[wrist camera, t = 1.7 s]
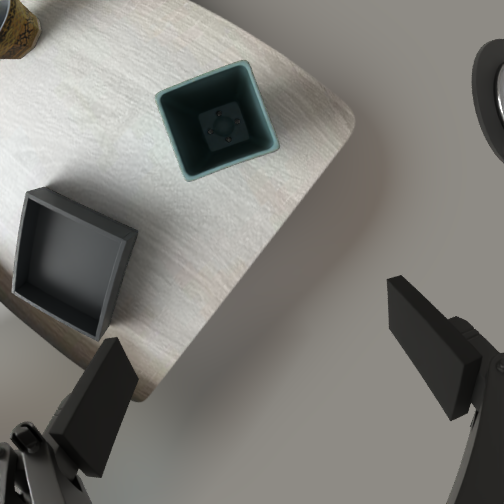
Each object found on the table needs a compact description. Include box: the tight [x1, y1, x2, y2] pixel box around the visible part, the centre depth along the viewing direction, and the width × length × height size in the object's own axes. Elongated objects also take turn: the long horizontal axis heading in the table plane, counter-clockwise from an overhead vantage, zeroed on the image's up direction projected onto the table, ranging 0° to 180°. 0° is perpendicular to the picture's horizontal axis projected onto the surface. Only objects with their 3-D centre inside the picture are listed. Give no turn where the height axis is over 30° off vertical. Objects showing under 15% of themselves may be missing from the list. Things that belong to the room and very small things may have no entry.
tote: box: [12, 187, 138, 342], centre depth 37 cm, size 15×15×4 cm
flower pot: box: [155, 60, 280, 182], centre depth 30 cm, size 9×9×9 cm
